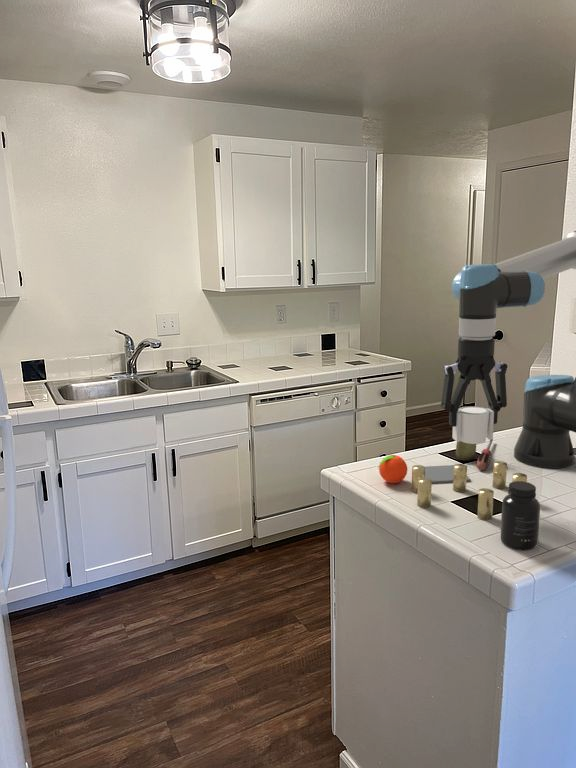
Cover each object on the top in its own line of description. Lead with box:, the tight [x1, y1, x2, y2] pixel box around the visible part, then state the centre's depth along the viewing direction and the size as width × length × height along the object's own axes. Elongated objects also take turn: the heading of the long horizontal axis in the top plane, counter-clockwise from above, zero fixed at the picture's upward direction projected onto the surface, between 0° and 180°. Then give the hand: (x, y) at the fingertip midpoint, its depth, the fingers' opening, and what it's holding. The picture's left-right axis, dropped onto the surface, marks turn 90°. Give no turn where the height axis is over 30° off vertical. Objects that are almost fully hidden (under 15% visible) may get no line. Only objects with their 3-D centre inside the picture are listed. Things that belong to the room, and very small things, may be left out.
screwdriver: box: [476, 438, 494, 471], centre depth 160 cm, size 25×3×3 cm, turn 155°
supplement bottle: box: [500, 481, 541, 551], centre depth 112 cm, size 7×7×12 cm
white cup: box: [458, 405, 490, 445], centre depth 129 cm, size 7×7×7 cm
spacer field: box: [411, 460, 528, 521], centre depth 131 cm, size 25×18×6 cm
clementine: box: [378, 454, 408, 484], centre depth 143 cm, size 8×7×7 cm
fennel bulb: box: [455, 441, 477, 462], centre depth 157 cm, size 6×5×12 cm
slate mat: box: [424, 464, 471, 485], centre depth 148 cm, size 11×10×1 cm
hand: (472, 438), depth 130 cm, fingers closed on white cup, 7 cm apart
